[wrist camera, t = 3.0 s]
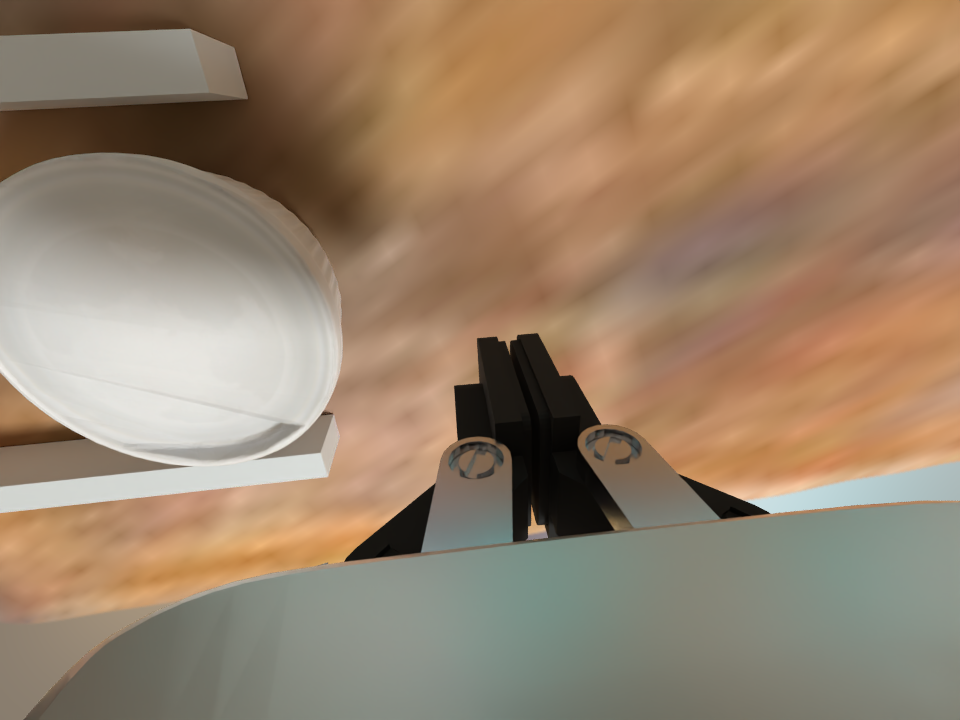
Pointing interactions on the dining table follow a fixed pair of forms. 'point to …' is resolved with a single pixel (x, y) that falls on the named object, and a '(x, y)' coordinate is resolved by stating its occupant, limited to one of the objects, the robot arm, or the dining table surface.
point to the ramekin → (164, 308)
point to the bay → (110, 82)
